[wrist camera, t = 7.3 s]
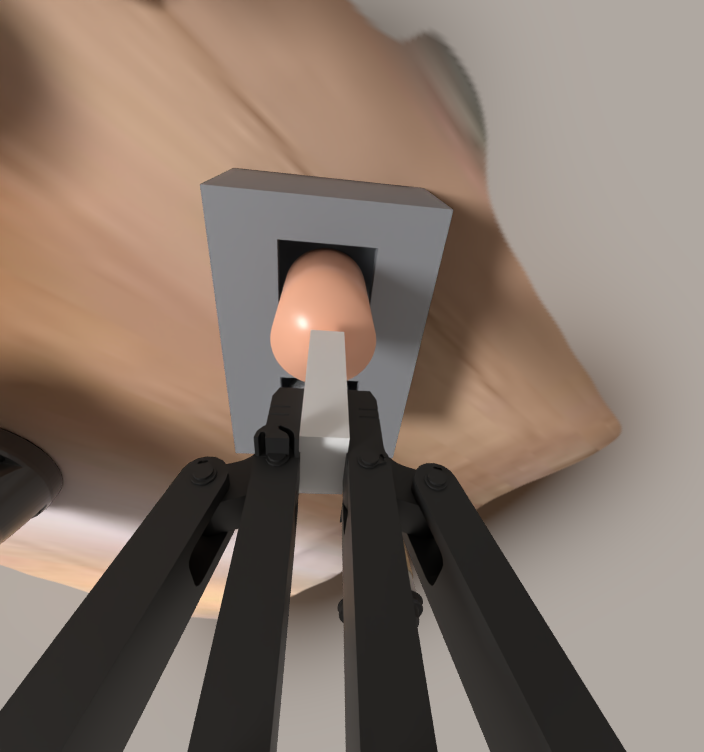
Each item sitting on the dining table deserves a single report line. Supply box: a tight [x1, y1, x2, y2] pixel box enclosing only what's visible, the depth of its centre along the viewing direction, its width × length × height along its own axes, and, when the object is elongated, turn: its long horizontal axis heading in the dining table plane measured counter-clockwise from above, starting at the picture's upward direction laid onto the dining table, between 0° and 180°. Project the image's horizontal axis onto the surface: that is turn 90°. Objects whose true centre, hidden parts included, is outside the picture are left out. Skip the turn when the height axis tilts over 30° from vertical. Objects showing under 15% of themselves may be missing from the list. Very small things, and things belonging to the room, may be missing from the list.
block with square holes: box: [200, 168, 453, 458], centre depth 29 cm, size 21×14×8 cm, turn 174°
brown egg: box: [270, 248, 376, 382], centre depth 20 cm, size 5×5×7 cm
